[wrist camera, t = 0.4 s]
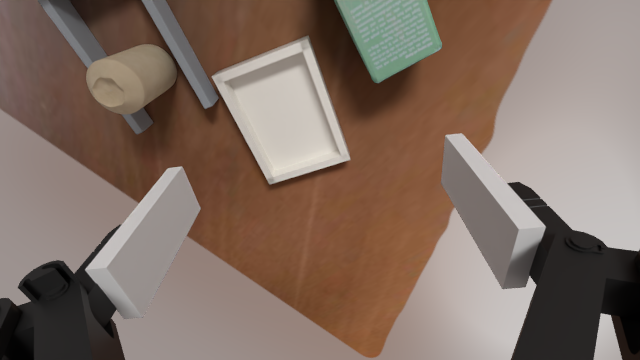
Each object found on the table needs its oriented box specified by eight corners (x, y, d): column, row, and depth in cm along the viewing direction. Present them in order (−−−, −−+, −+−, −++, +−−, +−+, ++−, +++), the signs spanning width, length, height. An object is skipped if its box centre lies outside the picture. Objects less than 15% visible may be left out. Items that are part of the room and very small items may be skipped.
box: (367, 71, 38) (377, 89, 32) (311, -47, 32) (308, -54, 26) (424, 38, 36) (446, 50, 30) (376, -94, 30) (391, -114, 24)
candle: (144, 32, 36) (90, 49, 28) (186, 67, 38) (147, 92, 30) (123, 68, 38) (66, 93, 30) (163, 98, 40) (121, 130, 32)
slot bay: (48, -17, 33) (17, -16, 30) (132, -60, 31) (109, -65, 28) (147, 125, 42) (132, 137, 39) (219, 98, 40) (209, 109, 37)
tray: (217, 71, 38) (211, 76, 36) (308, 35, 36) (307, 38, 34) (271, 175, 46) (269, 184, 44) (349, 151, 44) (350, 159, 42)
